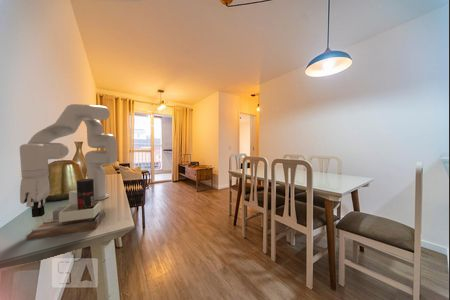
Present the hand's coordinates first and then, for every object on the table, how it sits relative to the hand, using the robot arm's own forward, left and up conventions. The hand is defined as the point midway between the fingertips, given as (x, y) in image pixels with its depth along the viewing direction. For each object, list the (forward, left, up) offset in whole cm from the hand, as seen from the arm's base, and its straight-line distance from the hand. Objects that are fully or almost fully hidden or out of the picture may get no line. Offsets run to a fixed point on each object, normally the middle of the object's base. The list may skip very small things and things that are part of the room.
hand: (38, 215), depth 71 cm
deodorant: (0, +16, -1) cm, 16 cm away
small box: (-22, +7, -7) cm, 24 cm away
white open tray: (0, +13, -4) cm, 14 cm away
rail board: (0, +11, -6) cm, 13 cm away
